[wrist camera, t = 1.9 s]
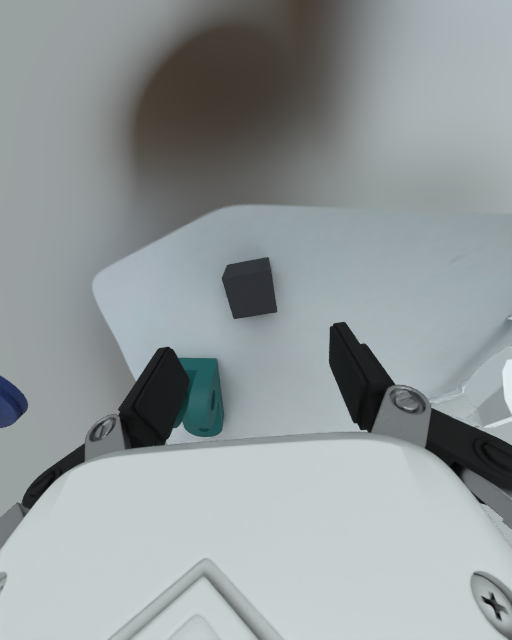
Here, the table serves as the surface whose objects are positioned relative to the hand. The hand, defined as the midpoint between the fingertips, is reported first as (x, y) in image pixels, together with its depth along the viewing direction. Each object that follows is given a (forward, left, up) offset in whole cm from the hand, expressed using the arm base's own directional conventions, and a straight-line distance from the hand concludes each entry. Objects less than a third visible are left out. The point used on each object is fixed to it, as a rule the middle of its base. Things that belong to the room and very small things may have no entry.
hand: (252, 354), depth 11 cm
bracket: (+16, -16, -12) cm, 26 cm away
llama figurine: (+24, +24, -12) cm, 36 cm away
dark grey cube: (0, 0, -12) cm, 12 cm away
